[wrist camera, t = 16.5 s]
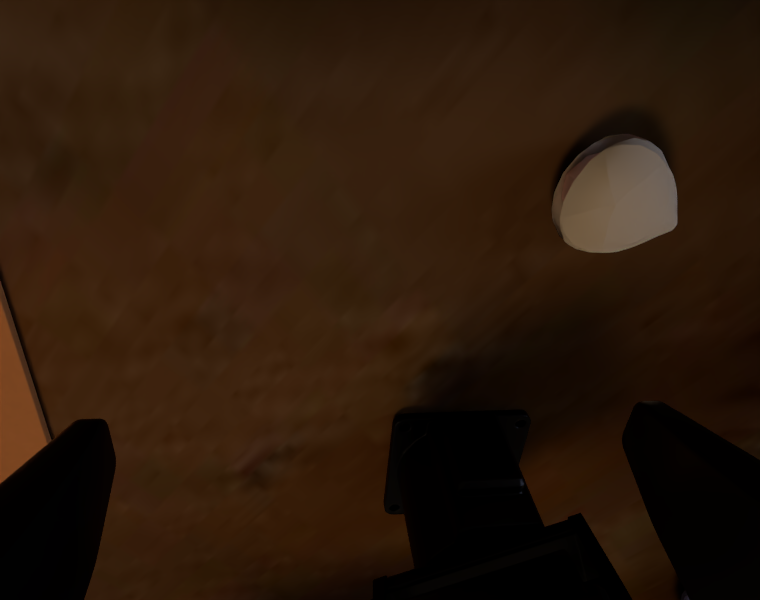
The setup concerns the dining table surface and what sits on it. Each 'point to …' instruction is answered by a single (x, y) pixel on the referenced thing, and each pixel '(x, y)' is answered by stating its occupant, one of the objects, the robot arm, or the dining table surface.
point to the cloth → (17, 401)
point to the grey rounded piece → (615, 196)
